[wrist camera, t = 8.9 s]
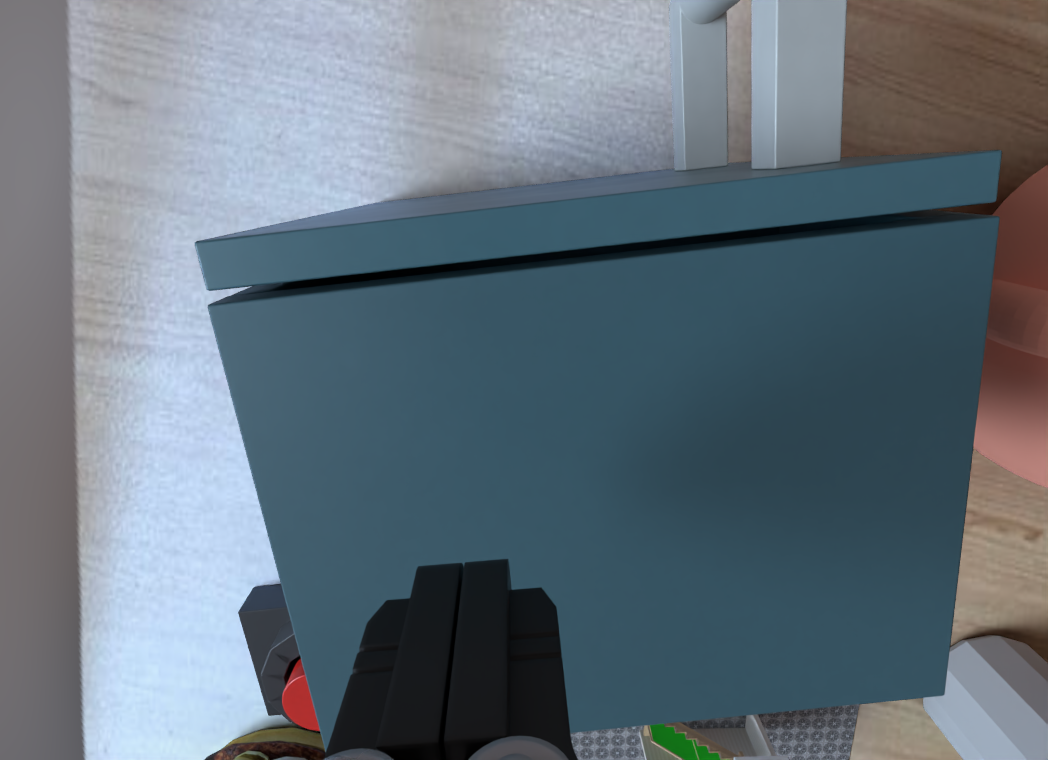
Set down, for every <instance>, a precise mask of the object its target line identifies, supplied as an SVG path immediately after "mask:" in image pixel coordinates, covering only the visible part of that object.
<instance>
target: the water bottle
mask: <svg viewBox="0 0 1048 760" xmlns="http://www.w3.org/2000/svg"><path fill="white" fill-rule="evenodd" d="M923 708H924V709H925V710H926V712H927V713H928V714H929V716H930V717H931V718H932V720H933V721H934V722H935V723H936V725H937V726H938V727H939V729H940V730H941V731H942V733H943V734H944V735H945V736H946V738H947V739H948V740H949V742H950V743H951V744H952V746H953V747H954V748H955V749H956V751H957V752H958V753H959V755H960V756H961V757H962V759H963V760H1048V663H1047V662H1046V661H1045V660H1044V659H1043V658H1042V657H1040V656H1039V655H1038V654H1037V653H1036V652H1035V651H1034V650H1033V649H1032V648H1031V647H1029V646H1028V645H1027V644H1025V643H1022V642H1018V641H1015V640H1012V639H1008V638H1005V637H1001V636H993V635H988V636H983V637H977V638H972V639H967V640H961V641H960V642H958V643H957V644H955V645H953V646H952V647H950V652H949V660H948V669H947V678H946V686H945V695H944V696H937V697H927V698H923Z"/></svg>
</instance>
